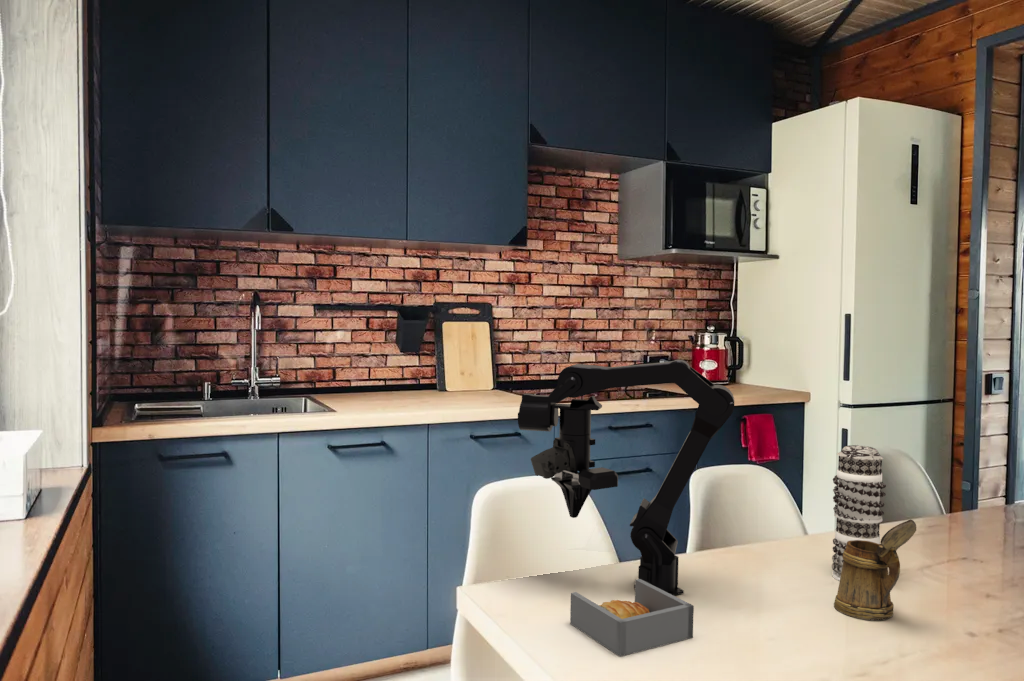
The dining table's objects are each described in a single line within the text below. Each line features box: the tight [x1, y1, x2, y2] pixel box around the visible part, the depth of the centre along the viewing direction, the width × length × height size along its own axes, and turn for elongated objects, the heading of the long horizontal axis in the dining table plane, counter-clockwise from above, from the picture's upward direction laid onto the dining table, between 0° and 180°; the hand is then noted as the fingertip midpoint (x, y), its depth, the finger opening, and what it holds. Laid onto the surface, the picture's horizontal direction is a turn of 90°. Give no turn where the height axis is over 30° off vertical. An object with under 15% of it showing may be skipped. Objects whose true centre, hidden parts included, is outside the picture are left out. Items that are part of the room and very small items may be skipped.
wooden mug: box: [833, 519, 917, 621], centre depth 127 cm, size 9×14×18 cm, turn 20°
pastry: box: [598, 599, 650, 619], centre depth 123 cm, size 9×7×4 cm
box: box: [569, 578, 695, 657], centre depth 120 cm, size 14×13×5 cm
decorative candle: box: [831, 444, 887, 582], centre depth 145 cm, size 9×9×25 cm
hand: (573, 517), depth 141 cm, fingers closed
